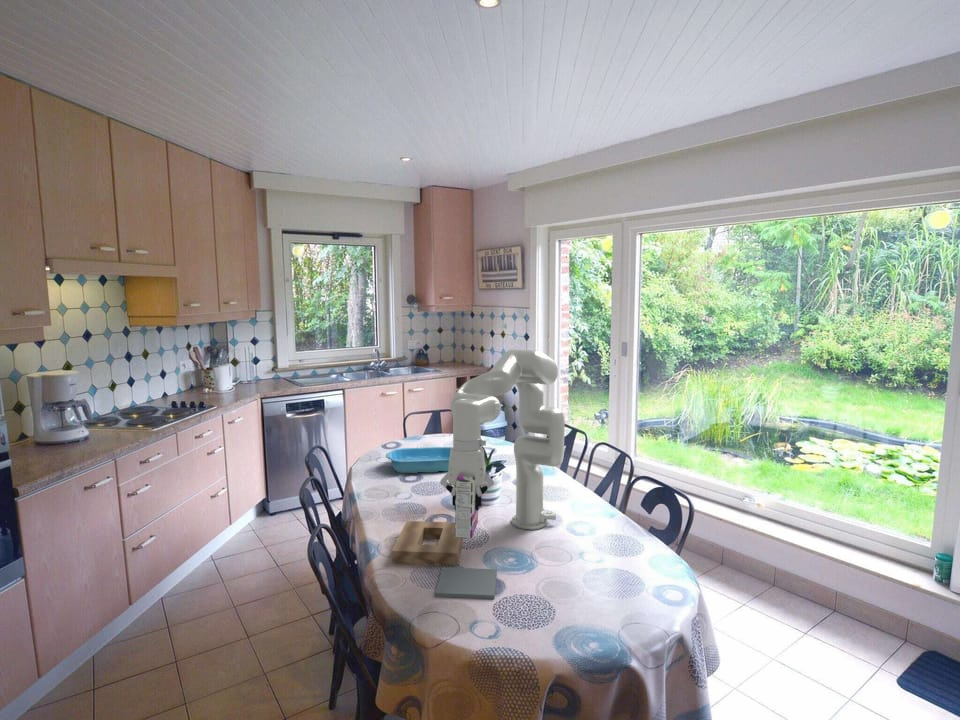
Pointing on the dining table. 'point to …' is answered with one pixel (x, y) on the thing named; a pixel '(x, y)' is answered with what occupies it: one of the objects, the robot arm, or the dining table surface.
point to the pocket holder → (414, 552)
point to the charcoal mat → (467, 583)
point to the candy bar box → (465, 507)
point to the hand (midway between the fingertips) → (467, 507)
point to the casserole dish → (420, 459)
